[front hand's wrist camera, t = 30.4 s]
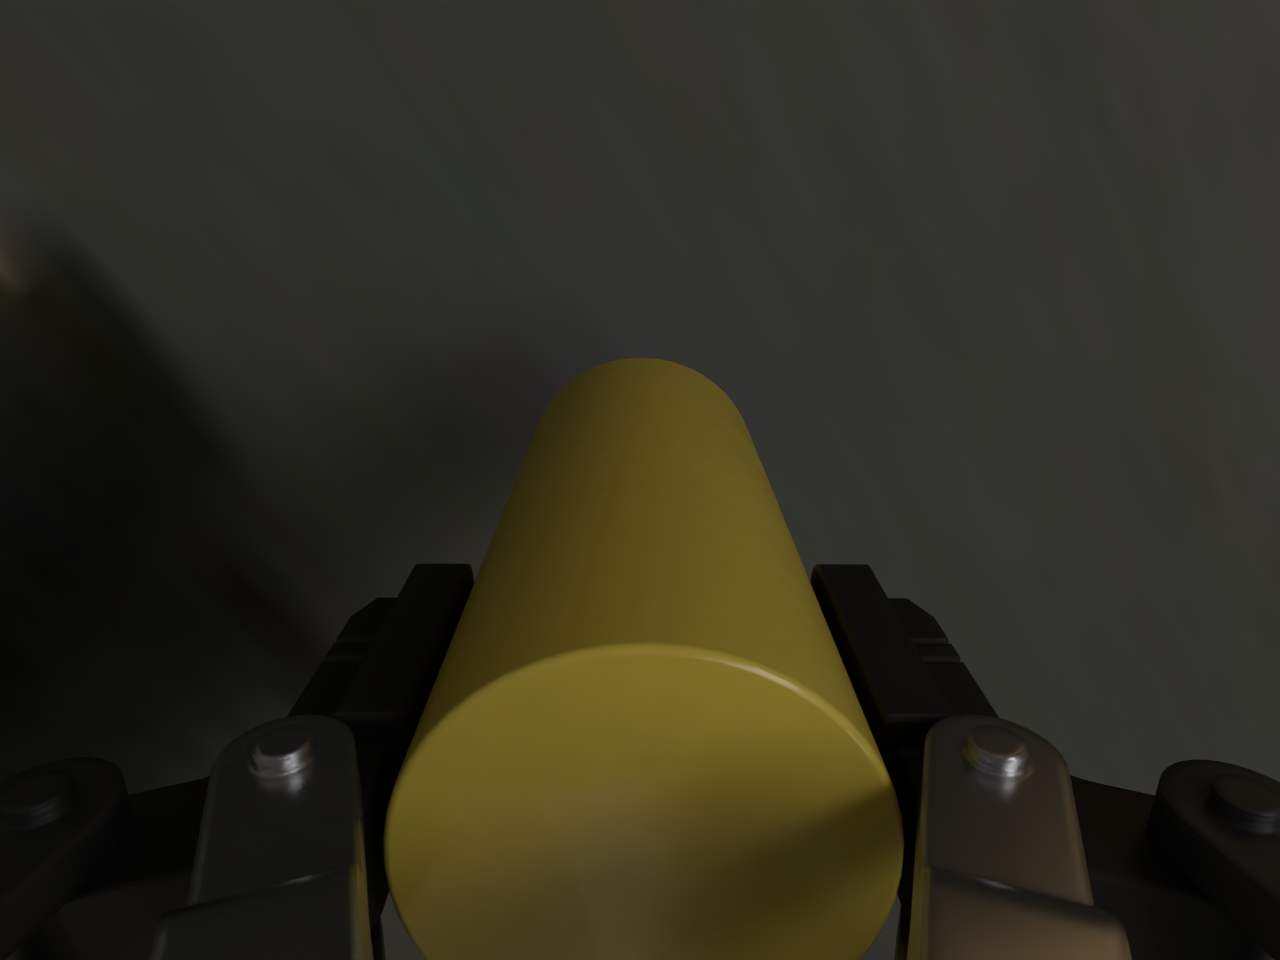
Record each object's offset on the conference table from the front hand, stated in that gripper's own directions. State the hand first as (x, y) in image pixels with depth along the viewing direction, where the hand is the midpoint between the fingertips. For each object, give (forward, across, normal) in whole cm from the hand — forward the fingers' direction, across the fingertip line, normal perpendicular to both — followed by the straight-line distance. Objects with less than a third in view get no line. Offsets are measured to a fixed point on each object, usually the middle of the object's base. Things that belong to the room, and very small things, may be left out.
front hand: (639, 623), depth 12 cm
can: (+6, 0, 0) cm, 6 cm away
